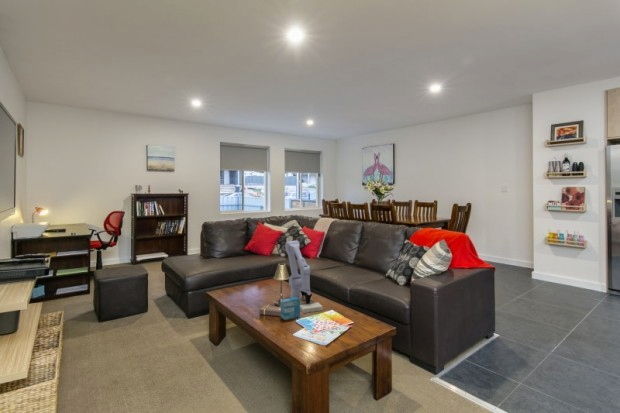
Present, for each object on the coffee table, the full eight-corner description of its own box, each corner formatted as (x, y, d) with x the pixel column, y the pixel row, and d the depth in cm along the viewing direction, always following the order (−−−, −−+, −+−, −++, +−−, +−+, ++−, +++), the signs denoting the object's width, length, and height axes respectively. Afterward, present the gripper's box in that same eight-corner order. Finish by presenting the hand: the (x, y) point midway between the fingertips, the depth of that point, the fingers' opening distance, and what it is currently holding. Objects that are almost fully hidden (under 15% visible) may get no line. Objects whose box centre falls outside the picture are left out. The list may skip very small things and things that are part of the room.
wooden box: (298, 304, 228) (298, 299, 228) (311, 302, 232) (311, 297, 231) (300, 307, 223) (300, 301, 223) (314, 305, 226) (314, 299, 226)
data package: (283, 320, 200) (282, 302, 199) (280, 318, 204) (280, 299, 203) (300, 316, 205) (300, 298, 205) (297, 314, 209) (297, 296, 209)
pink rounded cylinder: (302, 299, 228) (302, 295, 228) (307, 298, 230) (307, 294, 230) (304, 301, 225) (304, 297, 225) (309, 300, 226) (309, 296, 226)
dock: (299, 308, 219) (299, 304, 219) (318, 305, 224) (318, 302, 224) (303, 313, 211) (303, 309, 211) (323, 310, 216) (322, 306, 215)
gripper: (297, 281, 232) (297, 299, 233) (303, 286, 219) (304, 305, 219) (306, 280, 235) (307, 298, 235) (313, 285, 221) (313, 304, 221)
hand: (306, 301), depth 227 cm, fingers open, 7 cm apart
